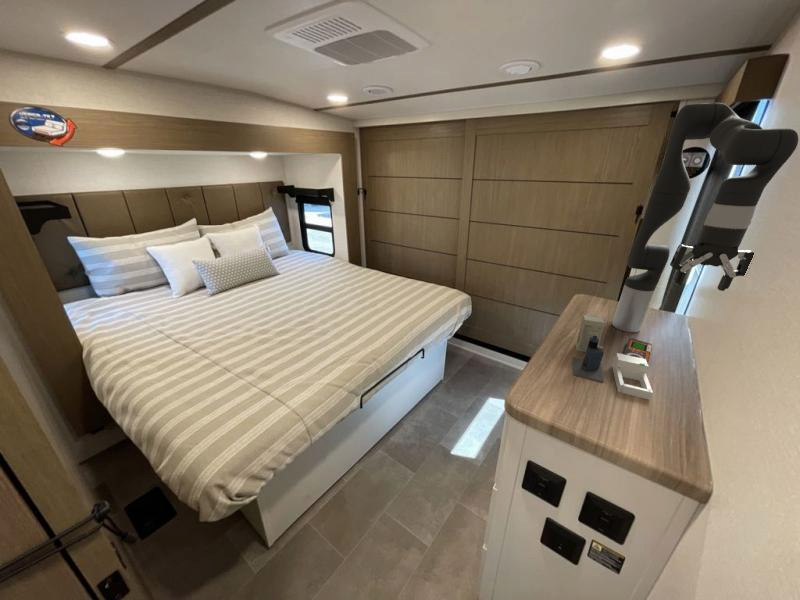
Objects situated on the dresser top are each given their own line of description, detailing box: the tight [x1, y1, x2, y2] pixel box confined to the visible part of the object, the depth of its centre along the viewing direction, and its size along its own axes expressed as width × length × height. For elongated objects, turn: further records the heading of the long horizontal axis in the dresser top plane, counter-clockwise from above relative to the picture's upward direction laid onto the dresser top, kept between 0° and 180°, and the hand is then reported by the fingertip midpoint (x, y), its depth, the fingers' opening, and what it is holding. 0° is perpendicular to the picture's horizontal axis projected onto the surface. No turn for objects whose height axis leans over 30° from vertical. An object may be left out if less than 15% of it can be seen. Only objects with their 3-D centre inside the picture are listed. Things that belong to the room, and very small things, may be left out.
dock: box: [611, 352, 654, 401], centre depth 94 cm, size 24×8×5 cm, turn 153°
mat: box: [572, 356, 605, 383], centre depth 96 cm, size 10×8×1 cm
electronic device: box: [623, 337, 653, 365], centre depth 103 cm, size 7×3×15 cm
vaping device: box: [582, 335, 605, 371], centre depth 94 cm, size 3×5×12 cm, turn 96°
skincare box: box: [575, 314, 606, 353], centre depth 104 cm, size 6×4×12 cm
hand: (698, 287), depth 79 cm, fingers open, 8 cm apart
